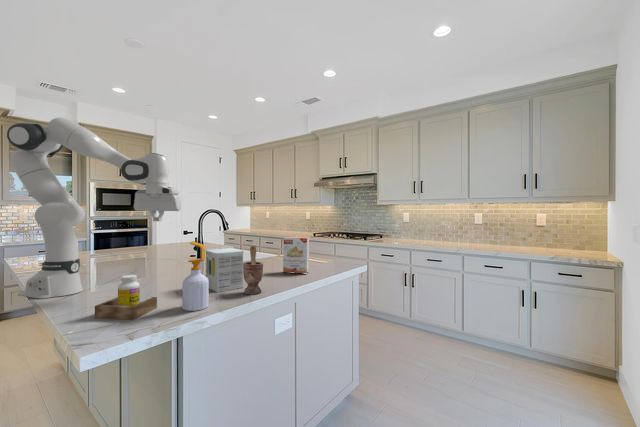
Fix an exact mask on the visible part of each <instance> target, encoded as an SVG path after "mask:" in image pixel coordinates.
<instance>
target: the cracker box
mask: <svg viewBox="0 0 640 427" xmlns="http://www.w3.org/2000/svg"><path fill="white" fill-rule="evenodd" d="M282 256H283V262H282V263H283V264H282V270H283V271H282V273H283V272H294V273H307V272H308V271H309V269H310V266H309V265H310V237H309V236H308V237H307V236H304V237H303V236H284V237H283V255H282ZM308 273H309V272H308ZM308 273H307V274H308Z"/></svg>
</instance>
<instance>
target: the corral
mask: <svg viewBox="0 0 640 427" xmlns="http://www.w3.org/2000/svg"><path fill="white" fill-rule="evenodd" d="M157 308H158V297H157V296H152V297H150V298H148V299H146V300H144V301H141V302H140V303H139V304H136V305H134V306H118V296H117V297H114V298H113V299H109V300H107V301H104V302H102V303H100V304H96V305H94V318H95V319H111V320H132V321H135V320H136V319H138V318H140V317H142V316H144V315H145V314H148V313H149V312H151V311H153V310H155V309H157Z"/></svg>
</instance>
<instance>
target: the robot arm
mask: <svg viewBox="0 0 640 427" xmlns="http://www.w3.org/2000/svg"><path fill="white" fill-rule="evenodd" d="M6 137H7V138H6V139H7V140H8V142H9V143H10V144H11V145H12V146H14V148H17V149H18V150H16V151H14V152H12V153H11V154H10V163H11V164H12V167H13V170H14V172H15V174H16V175H17V177H18V179H19V180H20V182H21V184H22V185H23V187H24V188H25V190H26V191H27V193H28V194H29V196H30V197H31V198H32V199H34V200H35V201H36V202H38V203H39V204H40V205H41V206H39V207H37V209H36V210H35V212H34V221H35V223H37V224H38V225H39V228H40V230H41V233H42V236H43V240H44V249H45V250H44V255H45V256H44V257H45V260H44V262H39V263H38V264H39V267H41V268H40V270H39V271H38V272H37V273H35V274H34V275H32V276H31V277H30V278H28V279H27V280H26V284H25V289H24V290H22V291H19V292H18V293H17V296H19V297H24V298H31V299H32V298H34V299H42V300H43V299H48V298H54V297H62V296H69V295H74V294H77V293H80V292H83V290H84V288H83V284H82V280H81V273H80V267H81V264H80V263H81V260H80V258H79V240H78V238H77V237H76V235H75V231H74V227H76V226H78V225H80V224H81V223H82V222H83V221H84V220H85V218H86V211H85V209H84V208H83V207H82V206H81V205H80V204H79V203H78V202H77V201H76V200H75V199H74V197H72V195H71V194H70V193H69V192H68V191H67V190H66V189H65V187H63V185H62V183H61V182H60V180H59V179H58V178H57V176H56V174H55V172H54V171H53V169H52V168H51V166H50V165H49V163H48V162H47V158H53V156H55V155H56V154H58V153H59V152H61V151H62V150H63V149H64V148H66V149H68V150H70V151H72V152H73V153H76V154H79V155H80V156H84V157H86V158H90V159H95V160H99V161H103V162H105V163H108V164H111V165H113V166H115V167H117V168H119V169H120V173H121V176H122V177H123V178H124V179H125V180H127V181H129V182H132V183H136V184H140V185H142V186H143V185H144V186H145V189H143V190H141V189H139V190H137V191H135V194H134V200H133V202H134V203H133V209H134V211H136V212H137V211H140V212H142V211H143V212H144V211H145V212H150V215H151V216H152V222H162V218H163V216H164V215H165V212H179V211H180V210H181V209H182V203H181V202H182V201H181V197H180V190H179V189H176V188H174V187H170V186H169V181H168V179H169V178H168V177H169V162H168V158H167V157H166V156H164V155H163V154H160V153H155V152H148V153H147V154H145V155H143V156H141V157H139V158H138V157H137V158H134V159H132V158H130V157H129V156H127V155H125V154H123V153H121V152H120V151H118V150H116V148H114V147H112V146H111V145H110V144H108V143H107V142H106V141H105V140H104V139H102V138H100V137H99V136H98V135H97V134H96V133H94V132H93V131H91V130H89V129H88V128H86V127H84V126H82V125H80V124H78V123H77V122H75V121H72V120H69V119H67V118H64V117H55V118H52V119H51V120H50V121H49V122H48V123H47V125H41V124H40V123H30V122H29V123H28V122H23V123H22V122H21V123H15V124H13V125H11V126H9V128H8V129H7V131H6ZM157 213H158V216H157Z"/></svg>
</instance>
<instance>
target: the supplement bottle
mask: <svg viewBox="0 0 640 427" xmlns="http://www.w3.org/2000/svg"><path fill="white" fill-rule="evenodd" d="M137 277H138V276H137V275H136V274H124V275H122V276H121V278H120V280H121V283H120V284H119V285H118V286H117V297H118V306H134V305H136V304H139V303H141V302H140V300H141V298H140V296H141V295H140V294H141V293H140V286H141V285H140V283H139V282H138V281H137V279H138V278H137Z"/></svg>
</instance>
